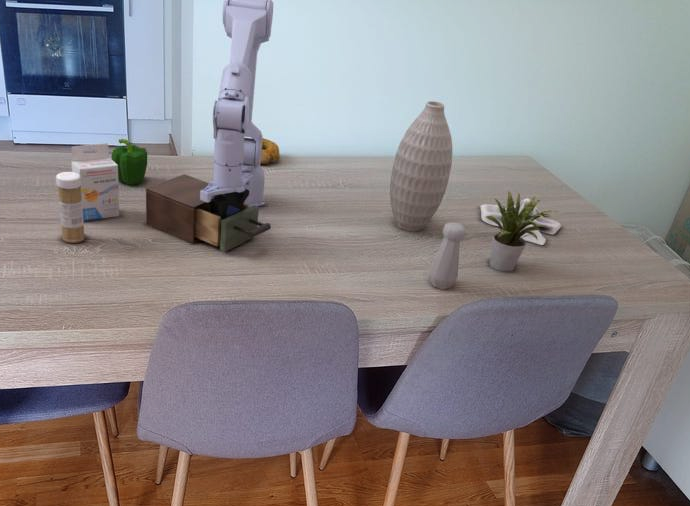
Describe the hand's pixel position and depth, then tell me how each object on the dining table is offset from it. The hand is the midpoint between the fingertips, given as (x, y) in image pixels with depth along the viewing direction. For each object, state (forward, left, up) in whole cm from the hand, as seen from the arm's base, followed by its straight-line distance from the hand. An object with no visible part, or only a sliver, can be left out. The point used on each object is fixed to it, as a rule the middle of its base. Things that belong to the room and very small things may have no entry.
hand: (225, 224), depth 148 cm
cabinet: (+3, -10, -3) cm, 11 cm away
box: (0, 0, -1) cm, 1 cm away
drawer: (0, +1, -3) cm, 3 cm away
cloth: (-72, +22, -4) cm, 75 cm away
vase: (-44, +11, -4) cm, 46 cm away
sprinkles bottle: (+28, -13, -4) cm, 31 cm away
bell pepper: (+4, -37, -4) cm, 37 cm away
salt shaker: (-30, +35, -4) cm, 46 cm away
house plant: (-48, +36, -4) cm, 60 cm away
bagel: (0, -9, 0) cm, 9 cm away
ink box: (+19, -22, -4) cm, 29 cm away
